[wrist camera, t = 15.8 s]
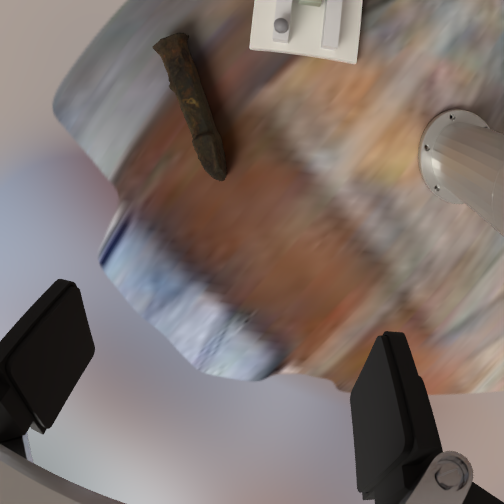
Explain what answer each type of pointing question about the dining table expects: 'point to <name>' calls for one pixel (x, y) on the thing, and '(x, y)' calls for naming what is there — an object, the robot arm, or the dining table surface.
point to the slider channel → (308, 28)
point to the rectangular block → (310, 2)
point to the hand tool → (193, 103)
